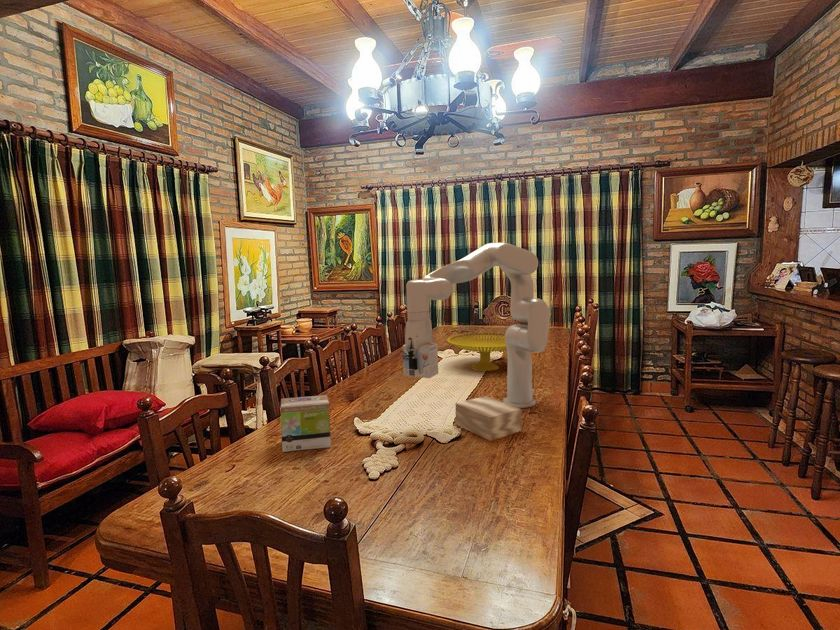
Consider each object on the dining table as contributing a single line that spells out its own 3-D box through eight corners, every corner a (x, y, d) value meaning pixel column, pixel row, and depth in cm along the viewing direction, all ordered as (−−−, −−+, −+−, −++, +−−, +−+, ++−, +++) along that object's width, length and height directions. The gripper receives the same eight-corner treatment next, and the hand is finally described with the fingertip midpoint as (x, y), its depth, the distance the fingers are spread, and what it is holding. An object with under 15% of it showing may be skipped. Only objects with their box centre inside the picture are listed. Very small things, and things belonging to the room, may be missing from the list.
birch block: (485, 416, 175) (485, 395, 174) (521, 431, 160) (521, 408, 159) (455, 425, 167) (455, 403, 166) (489, 441, 152) (489, 417, 151)
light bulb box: (402, 375, 164) (401, 345, 162) (412, 370, 170) (410, 341, 168) (430, 378, 159) (429, 347, 157) (439, 373, 165) (438, 343, 163)
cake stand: (535, 363, 254) (535, 335, 252) (507, 381, 220) (507, 350, 218) (467, 356, 275) (467, 330, 273) (432, 371, 241) (431, 342, 239)
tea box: (282, 453, 146) (279, 407, 144) (282, 441, 155) (279, 397, 153) (331, 447, 150) (329, 402, 148) (329, 436, 159) (327, 393, 157)
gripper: (425, 312, 170) (427, 360, 173) (393, 319, 157) (396, 371, 160) (442, 313, 166) (444, 362, 168) (411, 320, 152) (413, 374, 155)
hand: (420, 366), depth 164 cm, fingers closed on light bulb box, 7 cm apart
